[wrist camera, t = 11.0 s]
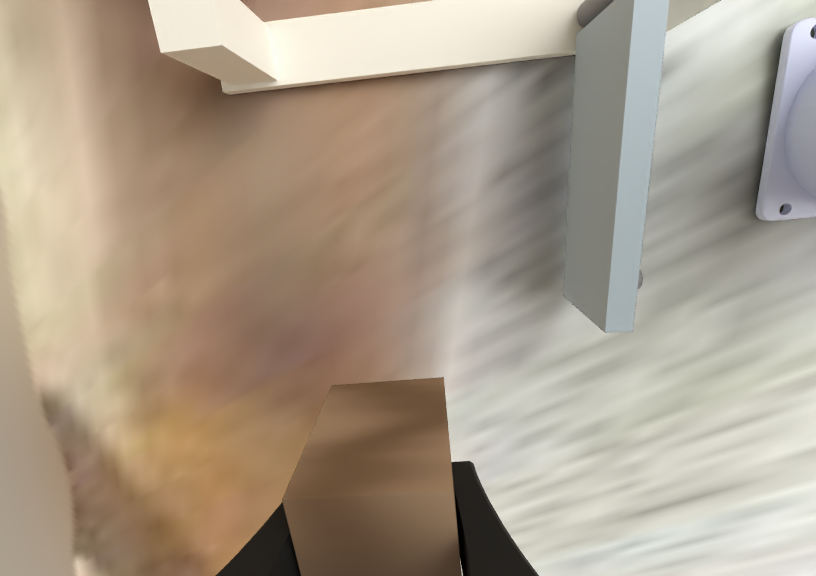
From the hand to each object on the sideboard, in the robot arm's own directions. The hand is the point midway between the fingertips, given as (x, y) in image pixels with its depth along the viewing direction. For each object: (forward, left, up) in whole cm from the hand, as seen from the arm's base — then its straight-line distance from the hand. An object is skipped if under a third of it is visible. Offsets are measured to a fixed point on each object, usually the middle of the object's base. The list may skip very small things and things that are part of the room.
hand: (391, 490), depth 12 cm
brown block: (0, 0, -2) cm, 2 cm away
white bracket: (-3, -15, -9) cm, 18 cm away
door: (-9, -9, -8) cm, 15 cm away
